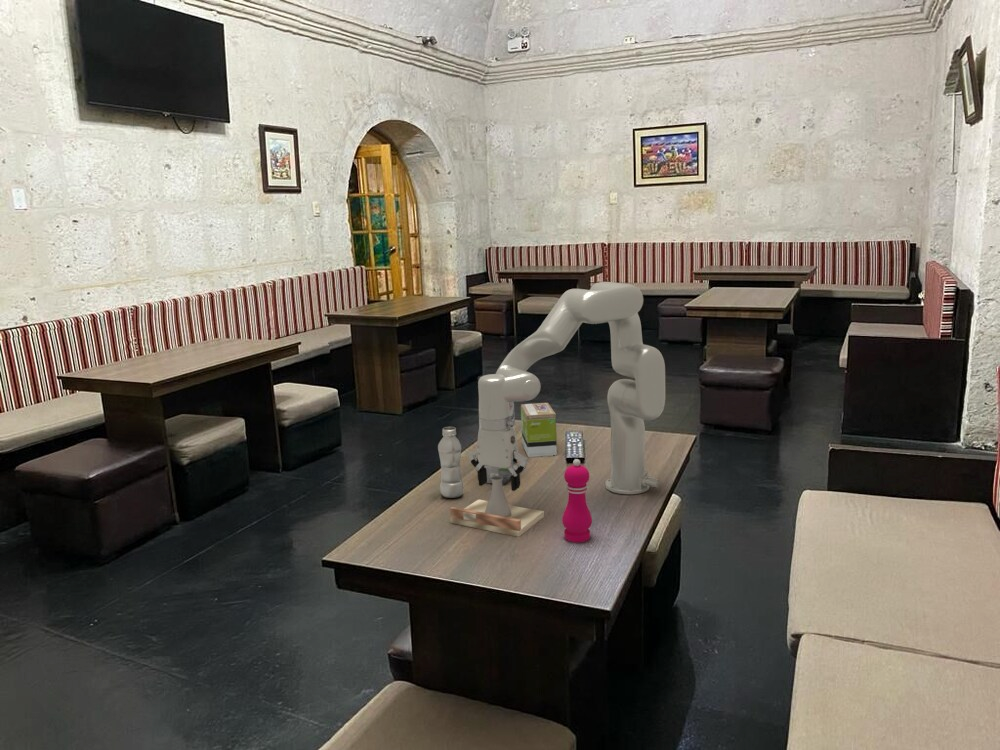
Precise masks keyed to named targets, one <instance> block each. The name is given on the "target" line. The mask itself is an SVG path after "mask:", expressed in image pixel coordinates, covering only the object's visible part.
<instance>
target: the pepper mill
mask: <svg viewBox="0 0 1000 750" xmlns="http://www.w3.org/2000/svg"><path fill="white" fill-rule="evenodd" d="M572 464H573V465H572ZM572 464H571V465H569V466H568V467H566V469H565V470H564V475H563V478H564V481H565V482H566V483H567V484H566V492H567V493H568V497H567V504H566V506H565V508H564V511H563V514H562V519H561V522H562V525H563V526H564V528H565V529H564V531H563V532H564V534H563V535H564V539H565V540H566V541H569V542H570V543H578V544H579V543H585V542H588V541H589V540H590V538H591V530H590V529H589V528H591V526H592V524H593V517H592V513H591V512H590V509H589V507H588V504H587V500H586V493H587V492H588V484H587V483H588V482H589V481H590V472H589V469H588V468H586V467H585V466H584V465H582V464H581V460H580V459H578V458H575V459H574V460H573V462H572Z"/></svg>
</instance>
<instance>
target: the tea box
mask: <svg viewBox="0 0 1000 750" xmlns="http://www.w3.org/2000/svg"><path fill="white" fill-rule="evenodd" d="M520 423H521V424H520V425H521V444H522V447H523V448H524V451H525V453H526V455H527V457H528V458H541V456H542V458H543V457H552V456H553V455H555V456H557V455H558V453H557V452H558V450H557V449H558V447H557V445H558V443H557V441H558V440H557V438H558V437H557V414H556V412H555V411H554V409H553V408H552V406H551V405H550V404H549V402H540V403H539V402H537V403H526V404H525V403H524V404H523V403H522V404H520ZM553 457H554V456H553Z"/></svg>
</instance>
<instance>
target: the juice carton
mask: <svg viewBox="0 0 1000 750" xmlns="http://www.w3.org/2000/svg"><path fill="white" fill-rule="evenodd" d="M509 411H510V419H511V420H512V421H514V426H510V427H513V428H514V432H515V433H516V429H515V427H516V423H515V421H516V419H515V402H509ZM478 424H479V425H478V429H479V428H480V427H481V421H480V405H479V404H478ZM484 468H486V470H487V483H486V484H492V481H491V477H493V476H502V477H503V480H502V486H503V485H505V484H507V483H508V482H509V481H511V476H512V473H511V472H510V471H509V469H508V468H498V467H491V466H485V467H484Z"/></svg>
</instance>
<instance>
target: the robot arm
mask: <svg viewBox="0 0 1000 750" xmlns="http://www.w3.org/2000/svg"><path fill="white" fill-rule="evenodd" d="M643 305H644V296H643V293H642V291H641V289H640V288H639V287H638V286H635V285H634V284H631V283H621V282H614V281H600V282H596V283H594V284H593V285H592V286H591V287H590V288H589V289H583V288H571V289H568V290H566V291H565V292H564V293H562V294H561V296H560V297H559V299H558V300H557V301H556V303H555V305H553V307H552V309H551V310H550V312H549V313H548V315H547V316H546V317H545V319H544V320H543V321H542V323H541V325H540V326H539V327H538V328H537V330H536V331H534V332H533V333H532V334H531V335H529V336H528V337H527V338H525V339H524V340H522V341H520V343H518V344H517V345H516V346H515V347H514V348H512V349H511V350H510V352H508V353H507V355H506V356H505V358H504V359H503V361H502V362H501V364H500V365H499V366H498V368H497V370H496V371H495V373H492V374H490V373H489V374H484V375H482V376H480V377H479V379H478V381H477V384H478V385H477V388H478V406H479V405H480V421H481V427H480V428H479V427H478V434H477V445H476V446H477V447H476V448H475V449H472V450H471V451H469V452H468V453H467V456H468V459H469V460H470V463H471V465H472V466H473V467H474V469H475V471H476V472H477V481H478V486H479V487H483V486H484V485H485V484H488V483H487V470H486V468H484V467H485V466H491V467H498V468H508V469H509V471H510V472H511V473H512V476H511V479H510V485H511V487H510V489H511V491H512V492H515V491H516V490H518V489H520V486H521V473H522V472H523V471H524V470H525V469H526V467H527V465H528V462H529V458H527V457H526V456H524V455H523V454H521V453H519V447H518V440H517V437H516V431H515V432H514V428H513V427H510V426H514V421H512V420H511V419H510V411H509V402H514V403H516V402H517V403H519V402H521V403H523V402H529V401H531V400H533V399H535V398H536V397H537V396H538V395H539V394H540V392H541V389H542V387H541V382H540V379H539V378H538V377H537V376H536V375H535V374H534V373H531V372H529V371H528V369H530V367H531V366H532V365H534V364H535V363H537V362H538V361H540V360H542V359H543V358H546V357H549V356H552V355H556V354H557V353H560V352H562V351H564V350H565V348H566V347H567V345H569V343H570V341H571V339H572V338H573V337H574V335H575V334H576V332H577V331H578V329H579V328H580V327H581V325H582V324H583V323H585V324H591V325H594V324H595V325H597V324H598V325H599V324H604V323H605V324H606V323H608V325H609V330H610V331H609V332H610V350H611V351H610V354H611V356H610V359H611V366H612V369H613V370H614V372H615V373H617V374H620V375H621V376H624V377H628V378H622V379H618V380H616V381H613V383H612V384H611V385H610V387H609V388H608V390H607V397H606V398H607V406H608V410H609V416H610V417H609V418H610V478H608V479H607V480H606V481H604V482H605V483H604V485H605V488H606V490H607V491H610V492H612V493H615V494H620V495H638V494H642V493H645V492H647V491H649V490H650V487H652V488H658V487H659V480H658V479H657V478H656V477H649V476H648V471H645V449H646V448H645V440H646V439H645V436H646V433H645V432H646V429H645V420H646V421H653V420H655V419H658V418H659V417H660V416H661V414H662V413H663V411H664V408H665V406H666V364H665V359H664V357H663V355H662V352H660V350H659V349H658V348H656V347H654V346H651V345H649V344H644V343H643V335H642V334H643V332H642V324H641V323H642V322H641V319H640V316H639V312H640V311H641V309H642V307H643ZM629 378H631V379H629ZM633 379H634V380H633ZM476 455H477V457H476ZM518 463H520V465H518Z"/></svg>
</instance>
